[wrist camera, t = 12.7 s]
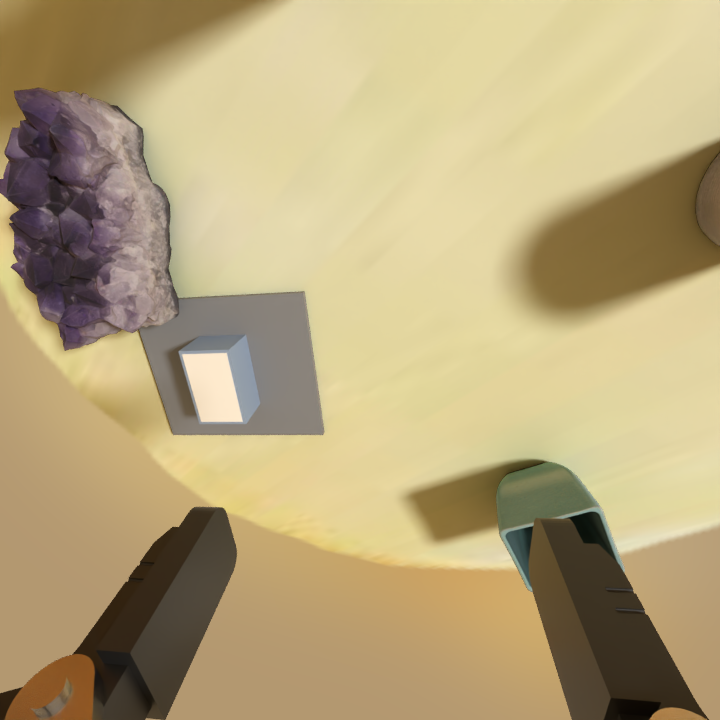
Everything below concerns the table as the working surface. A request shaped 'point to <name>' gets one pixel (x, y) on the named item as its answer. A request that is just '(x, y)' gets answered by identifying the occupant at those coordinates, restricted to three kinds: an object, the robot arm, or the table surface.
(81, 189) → the geode
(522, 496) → the flower pot
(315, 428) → the rubber mat
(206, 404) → the card box
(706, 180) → the pillar candle
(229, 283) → the table surface
